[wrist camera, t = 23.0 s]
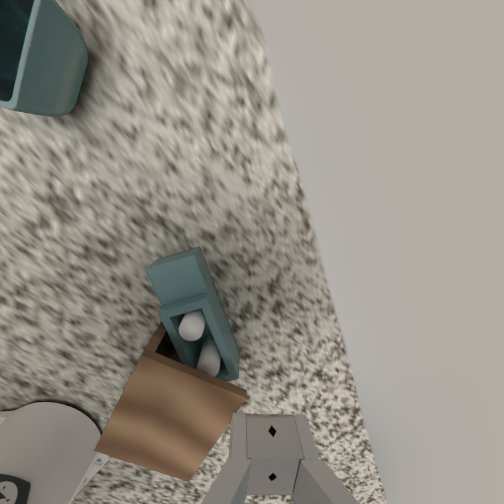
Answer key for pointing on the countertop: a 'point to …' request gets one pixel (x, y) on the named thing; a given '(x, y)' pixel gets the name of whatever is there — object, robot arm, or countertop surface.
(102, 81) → the countertop surface
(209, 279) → the tray
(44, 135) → the countertop surface
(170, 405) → the nook
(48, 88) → the flower pot
